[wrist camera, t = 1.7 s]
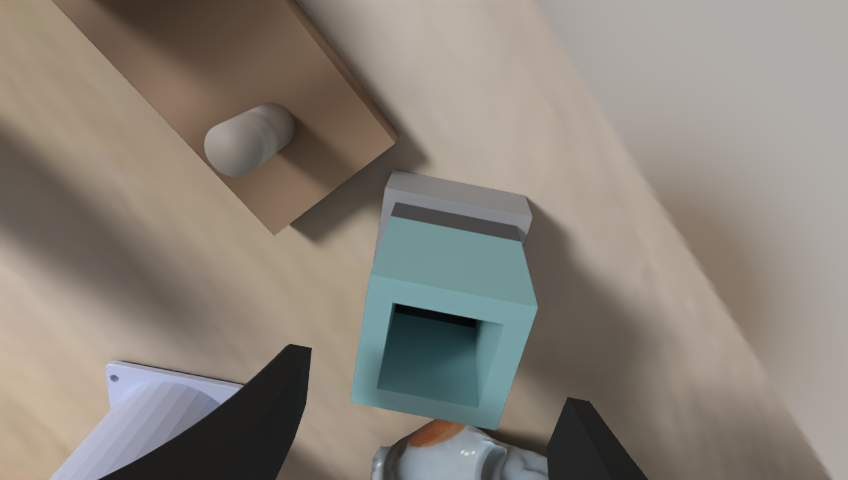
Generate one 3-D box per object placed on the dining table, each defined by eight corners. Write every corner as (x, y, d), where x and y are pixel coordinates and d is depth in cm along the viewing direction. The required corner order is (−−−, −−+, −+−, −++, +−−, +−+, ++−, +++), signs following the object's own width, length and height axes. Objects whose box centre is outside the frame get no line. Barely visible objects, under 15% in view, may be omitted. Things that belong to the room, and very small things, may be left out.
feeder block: (492, 307, 24) (495, 337, 22) (374, 283, 24) (365, 312, 22) (525, 196, 22) (532, 217, 19) (393, 169, 22) (385, 187, 19)
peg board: (399, 134, 21) (369, 193, 14) (285, 222, 23) (211, 309, 16) (49, -316, 16) (-269, -569, 9) (-56, -146, 18) (-378, -245, 11)
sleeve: (487, 326, 22) (496, 430, 16) (378, 304, 22) (349, 402, 16) (517, 226, 20) (538, 307, 14) (395, 201, 20) (369, 274, 14)
